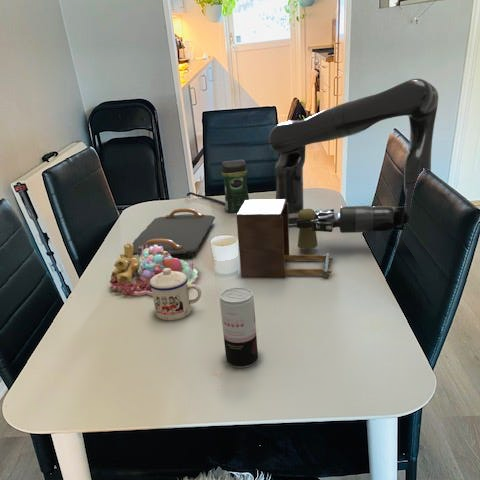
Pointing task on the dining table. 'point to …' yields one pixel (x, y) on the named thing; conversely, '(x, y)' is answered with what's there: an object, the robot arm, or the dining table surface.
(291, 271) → the drawer
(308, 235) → the olive peg doll
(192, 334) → the dining table surface
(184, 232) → the serving tray
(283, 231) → the cabinet
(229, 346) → the beverage can
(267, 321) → the dining table surface
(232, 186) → the coffee jar
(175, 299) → the teacup with lid
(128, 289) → the pastel sphere sculpture
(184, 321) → the dining table surface
